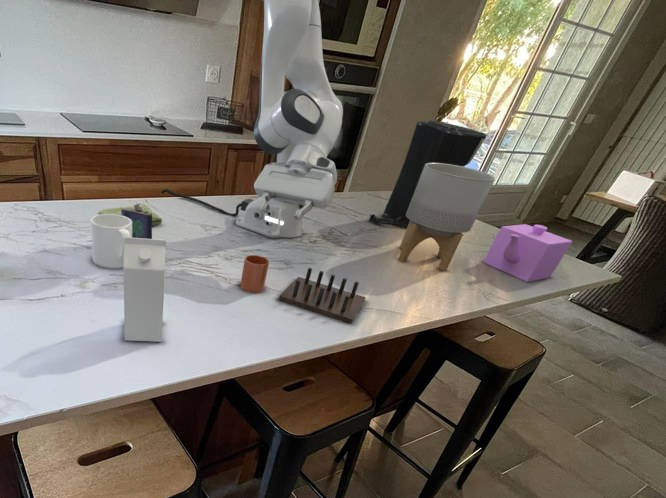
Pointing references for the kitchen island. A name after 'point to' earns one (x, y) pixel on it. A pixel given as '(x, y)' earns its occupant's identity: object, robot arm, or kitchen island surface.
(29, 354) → the kitchen island surface
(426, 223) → the planter
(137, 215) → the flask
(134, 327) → the milk carton
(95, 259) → the mug
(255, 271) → the cup
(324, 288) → the rack
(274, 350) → the kitchen island surface
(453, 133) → the coffee maker
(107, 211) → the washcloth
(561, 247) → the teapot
